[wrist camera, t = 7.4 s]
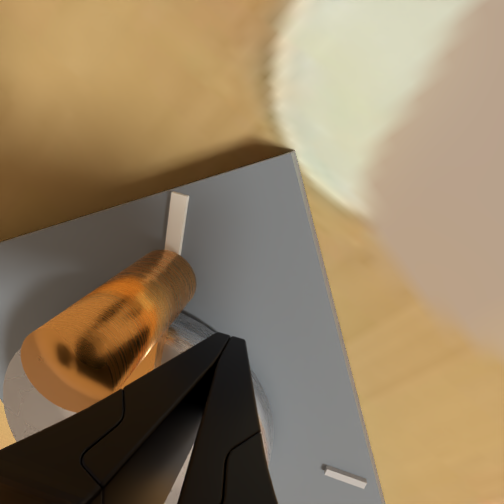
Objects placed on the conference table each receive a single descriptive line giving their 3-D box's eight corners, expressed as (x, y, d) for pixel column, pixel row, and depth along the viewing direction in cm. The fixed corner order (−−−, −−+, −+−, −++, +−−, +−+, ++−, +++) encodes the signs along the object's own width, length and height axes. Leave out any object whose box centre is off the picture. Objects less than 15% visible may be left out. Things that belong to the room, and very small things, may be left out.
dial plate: (-51, 257, 17) (-88, 270, 16) (294, 150, 12) (290, 153, 10) (99, 506, 22) (82, 534, 21) (387, 512, 17) (393, 550, 15)
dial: (240, 529, 17) (205, 698, 12) (41, 449, 18) (-68, 571, 13) (330, 296, 12) (335, 427, 6) (35, 203, 13) (-159, 251, 8)
